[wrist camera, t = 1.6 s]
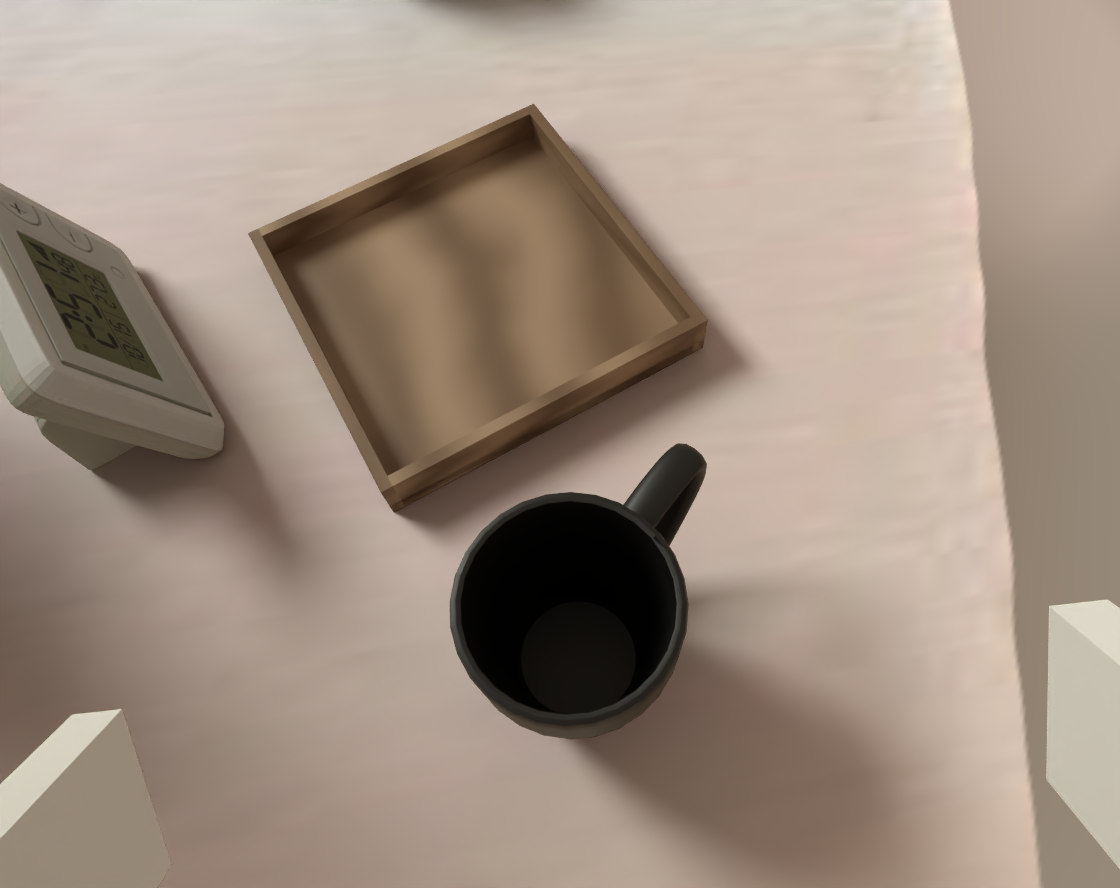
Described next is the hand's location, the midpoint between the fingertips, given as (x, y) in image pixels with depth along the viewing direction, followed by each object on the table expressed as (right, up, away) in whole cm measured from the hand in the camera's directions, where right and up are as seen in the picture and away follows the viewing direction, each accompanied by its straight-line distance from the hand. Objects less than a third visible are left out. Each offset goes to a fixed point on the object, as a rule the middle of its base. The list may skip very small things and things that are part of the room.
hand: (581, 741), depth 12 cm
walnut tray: (-5, +12, +34) cm, 36 cm away
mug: (+2, -4, +26) cm, 26 cm away
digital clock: (-23, +8, +33) cm, 42 cm away
